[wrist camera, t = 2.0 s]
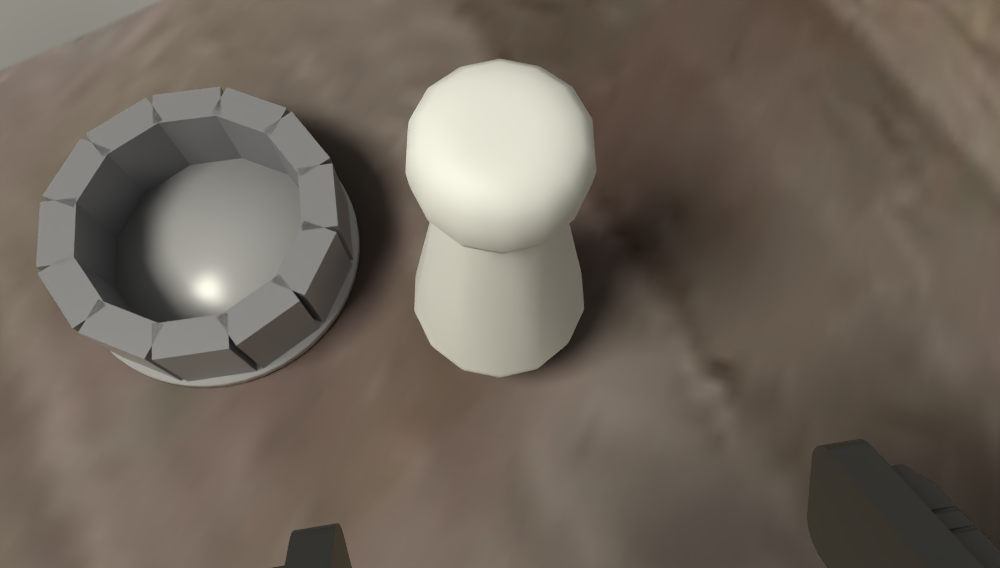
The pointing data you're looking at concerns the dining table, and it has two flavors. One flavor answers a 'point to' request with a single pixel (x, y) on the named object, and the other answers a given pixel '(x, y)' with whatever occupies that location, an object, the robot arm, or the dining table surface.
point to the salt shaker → (499, 214)
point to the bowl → (199, 238)
